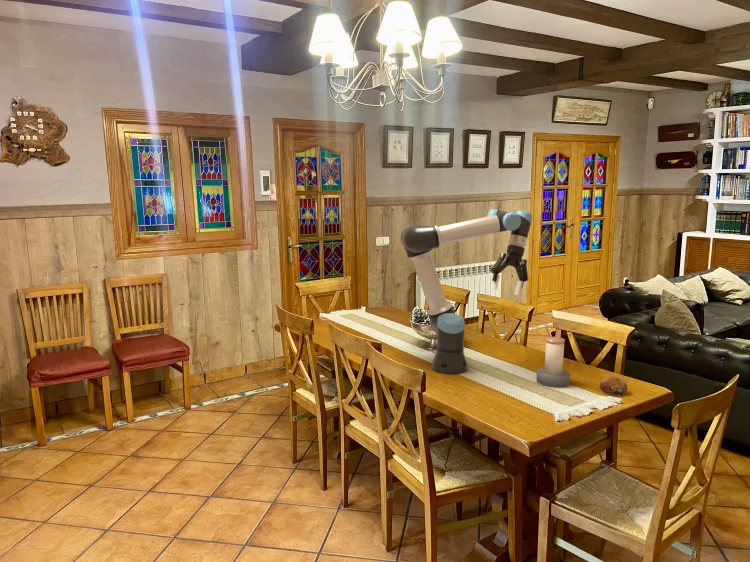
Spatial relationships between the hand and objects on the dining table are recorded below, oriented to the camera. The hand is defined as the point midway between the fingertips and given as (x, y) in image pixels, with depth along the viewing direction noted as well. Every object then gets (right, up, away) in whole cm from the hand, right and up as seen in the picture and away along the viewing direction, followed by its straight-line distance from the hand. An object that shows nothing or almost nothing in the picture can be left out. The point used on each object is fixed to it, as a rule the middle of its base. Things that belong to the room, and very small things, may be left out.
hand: (505, 292), depth 247 cm
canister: (+14, -32, -22) cm, 42 cm away
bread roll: (+34, -38, -32) cm, 61 cm away
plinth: (+14, -36, -22) cm, 45 cm away
